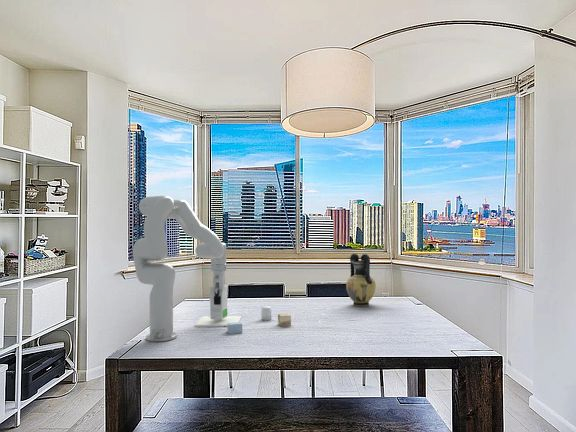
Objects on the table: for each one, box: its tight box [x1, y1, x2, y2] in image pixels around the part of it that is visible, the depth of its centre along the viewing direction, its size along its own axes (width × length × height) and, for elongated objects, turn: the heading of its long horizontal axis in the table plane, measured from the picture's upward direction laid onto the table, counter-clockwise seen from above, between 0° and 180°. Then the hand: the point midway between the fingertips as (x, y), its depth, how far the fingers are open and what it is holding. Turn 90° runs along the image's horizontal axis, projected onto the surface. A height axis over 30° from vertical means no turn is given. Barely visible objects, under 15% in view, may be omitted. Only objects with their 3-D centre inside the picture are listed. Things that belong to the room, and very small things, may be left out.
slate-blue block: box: [226, 321, 243, 334], centre depth 196 cm, size 4×6×4 cm, turn 105°
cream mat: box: [194, 315, 242, 328], centre depth 217 cm, size 20×20×1 cm
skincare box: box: [209, 284, 228, 319], centre depth 217 cm, size 8×7×16 cm
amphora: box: [345, 253, 376, 307], centre depth 259 cm, size 18×17×30 cm
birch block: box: [277, 312, 292, 327], centre depth 210 cm, size 5×5×5 cm
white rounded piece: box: [260, 305, 272, 321], centre depth 223 cm, size 5×5×6 cm
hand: (218, 302), depth 217 cm, fingers closed on skincare box, 9 cm apart
